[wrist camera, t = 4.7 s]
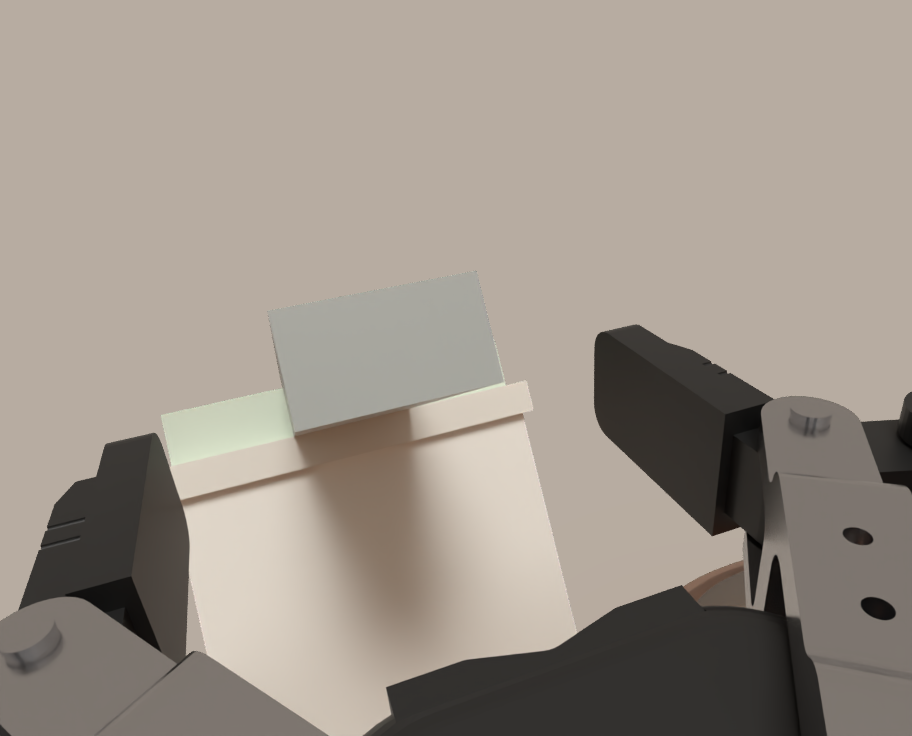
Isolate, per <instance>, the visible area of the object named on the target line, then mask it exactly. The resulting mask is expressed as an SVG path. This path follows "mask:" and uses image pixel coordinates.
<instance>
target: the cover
mask: <svg viewBox="0 0 912 736" xmlns="http://www.w3.org/2000/svg"><path fill="white" fill-rule="evenodd" d="M267 312H268V317H269V322H270V327H271V332H272V338H273V343H274V348H275V353H276V358H277V364H278V368H279V374H280V379H281V383H282V387H283V388H281V389H276V390H272V391H267V392H263V393H258V394H253V395H249V396H245V397H240V398H236V399H231V400H227V401H222V402H218V403H213V404H209V405H205V406H200V407H195V408H191V409H186V410H182V411H177V412H173V413H168V414H164V415H161V419H162V424H163V429H164V433H165V438H166V442H167V447H168V451H169V456H170V460H171V465H172V466H174V465H179V464H183V463H187V462H191V461H195V460H199V459H203V458H208V457H212V456H216V455H220V454H224V453H228V452H232V451H236V450H241V449H245V448H249V447H253V446H257V445H261V444H265V443H270V442H274V441H278V440H282V439H286V438H290V437H294V436H299V435H303V434H307V433H311V432H315V431H319V430H323V429H327V428H332V427H336V426H340V425H344V424H348V423H352V422H356V421H361V420H365V419H369V418H373V417H377V416H381V415H385V414H389V413H394V412H398V411H402V410H406V409H410V408H414V407H418V406H423V405H427V404H431V403H435V402H439V401H443V400H447V399H451V398H456V397H460V396H464V395H468V394H472V393H476V392H480V391H485V390H489V389H493V388H497V387H501V386H505V385H506V384H505V380H504V376H503V372H502V368H501V364H500V360H499V356H498V352H497V348H496V344H495V341H494V340H493V336H492V332H491V328H490V324H489V319H488V315H487V311H486V307H485V303H484V299H483V295H482V291H481V287H480V283H479V279H478V275H477V271H473V272H468V273H462V274H457V275H452V276H447V277H442V278H437V279H431V280H426V281H421V282H416V283H411V284H406V285H400V286H395V287H390V288H385V289H379V290H374V291H369V292H364V293H359V294H354V295H349V296H343V297H338V298H332V299H328V300H323V301H317V302H312V303H307V304H302V305H297V306H291V307H286V308H281V309H275V310H270V311H267Z"/></svg>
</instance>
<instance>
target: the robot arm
mask: <svg viewBox="0 0 912 736" xmlns="http://www.w3.org/2000/svg"><path fill="white" fill-rule="evenodd" d="M594 357H595V358H594V360H595V361H594V370H595V371H594V408H595V413H596V417H597V420H598V423H599V426H600V428H601V429H602V431H603V432H604V434H605V435H606V436H607V437H608V438H609V439H610V440H611V441H612V442H613V443H614V444H616V445H617V446H618V447H619V448H620V449H621V450H622V451H623V452H624V453H625V454H626V455H627V456H628V457H629V458H630V459H631V460H632V461H633V462H635V463H636V464H637V465H638V466H639V467H640V468H641V469H642V470H643V471H644V472H645V473H646V474H647V475H648V476H649V477H650V478H651V479H652V480H653V481H655V482H656V483H657V484H658V485H659V486H660V487H661V488H662V489H663V490H664V491H665V492H666V493H667V494H668V495H669V496H671V498H672V499H673V500H675V501H676V502H677V503H678V504H679V505H680V506H681V507H682V508H683V509H684V510H685V511H686V512H687V513H688V514H689V515H690V516H691V517H693V518H694V519H695V520H696V521H697V522H698V523H699V524H700V525H701V526H702V527H703V528H704V529H705V530H706V531H707V532H708V533H709V534H710V535H711V536H714V535H717V534H720V533H724V532H726V531H730V530H733V529H735V528H739V527H741V528H742V529H744V530H745V535H744V542H743V562H744V578H745V595H746V608H745V607H734V606H700V605H699V604H698V603H697V602H696V600H695V599H694V598H693V597H692V596H691V595H690V594H689V593H688V592H687V590H686V589H685V588H684V587H683V586H682V585H681V586H678V587H675V588H672V589H669V590H666V591H663V592H661V593H658V594H655V595H652V596H649V597H646V598H643V599H640V600H637V601H634V602H632V603H629V604H626V605H623V606H620V607H617V608H615V609H613V610H612V611H610V612H609V613H607V614H606V615H604V616H603V617H601V618H600V619H598V620H597V621H595V622H594V623H592V624H591V625H589V626H588V627H586V628H585V629H583V630H582V631H580V632H579V633H577V634H576V635H574V636H573V637H571V638H570V639H568V640H566V641H565V642H563V643H562V644H560V645H559V646H557V647H555V648H553V649H550V650H545V651H538V652H529V653H520V654H512V655H503V656H494V657H485V658H476V659H468V660H463V661H460V662H457V663H455V664H452V665H449V666H446V667H443V668H440V669H437V670H434V671H431V672H428V673H426V674H423V675H420V676H417V677H414V678H411V679H408V680H405V681H402V682H399V683H397V684H394V685H391V686H388V687H386V691H387V696H388V701H389V706H390V711H391V715H390V716H388V717H387V718H385V719H384V720H382V721H381V722H379V723H378V724H376V725H375V726H374V727H373V728H371V729H370V730H369V731H368V732H367V733H365V734H364V735H363V736H912V392H910V393H909V394H907V395H906V397H905V399H904V403H903V407H902V411H901V415H900V419H899V420H884V421H868V422H860V420H859V418H858V417H857V416H856V415H855V414H854V413H853V412H851V411H850V410H849V409H847V408H845V407H843V406H841V405H839V404H836V403H834V402H831V401H827V400H823V399H819V398H813V397H805V396H789V397H781V398H777V399H773V398H771V397H769V396H767V395H766V394H764V393H763V392H761V391H759V390H758V389H756V388H754V387H753V386H751V385H749V384H748V383H746V382H744V381H743V380H741V379H739V378H738V377H736V376H734V375H733V374H731V373H729V374H727V371H726V370H725V369H723V368H721V367H719V366H718V365H716V364H712V363H711V361H710V360H708V359H706V358H705V357H703V356H701V355H700V354H698V353H696V352H695V351H693V350H690V349H687V348H684V347H680V346H677V345H673V344H670V343H667V342H666V341H664V340H663V339H661V338H659V337H658V336H656V335H654V334H653V333H651V332H650V331H648V330H646V329H644V328H643V327H641V326H640V325H631V326H627V327H622V328H618V329H613V330H609V331H605V332H601V333H600V334H598V336H597V337H596V341H595V353H594ZM47 528H48V531H45V534H44V537H43V540H42V543H41V550H39V552H38V554H37V557H36V560H35V563H34V566H33V569H32V572H31V575H30V578H29V581H28V583H27V586H26V589H25V592H24V595H23V598H22V601H21V604H20V607H19V610H18V611H17V612H14V613H13V614H11V615H10V616H8V617H6V618H5V619H3V620H1V621H0V736H329V735H327V734H326V733H324V732H323V731H321V730H320V729H318V728H317V727H315V726H314V725H312V724H311V723H309V722H308V721H306V720H305V719H303V718H302V717H300V716H299V715H297V714H296V713H294V712H293V711H291V710H290V709H288V708H287V707H285V706H284V705H282V704H281V703H279V702H278V701H276V700H275V699H273V698H272V697H270V696H269V695H267V694H266V693H264V692H262V691H261V690H259V689H258V688H256V687H255V686H253V685H252V684H250V683H249V682H247V681H246V680H244V679H243V678H241V677H240V676H238V675H237V674H235V673H234V672H232V671H231V670H229V669H228V668H226V667H225V666H223V665H222V664H220V663H219V662H217V661H216V660H214V659H213V658H211V657H209V656H208V655H206V654H204V653H201V652H198V651H193V652H191V653H189V654H188V655H187V656H186V632H187V605H188V579H189V553H190V541H189V532H188V526H187V521H186V517H185V513H184V510H183V506H182V503H181V500H180V497H179V494H178V491H177V488H176V486H175V483H174V480H173V477H172V474H171V471H170V468H169V465H168V462H167V459H166V456H165V453H164V450H163V447H162V444H161V442H160V439H159V437H158V436H157V434H156V433H151V434H147V435H143V436H138V437H134V438H129V439H125V440H120V441H116V442H111V443H107V444H106V445H105V447H104V450H103V454H102V458H101V461H100V465H99V469H98V472H97V476H96V477H94V478H90V479H85V480H81V481H77V482H75V483H74V484H73V485H72V486H71V487H70V489H69V490H68V491H67V492H66V493H65V494H64V495H63V496H62V497H61V498H60V499H59V500H58V502H56V504H55V505H54V508H53V511H52V514H51V517H50V520H49V523H48V525H47Z"/></svg>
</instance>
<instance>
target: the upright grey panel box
mask: <svg viewBox="0 0 912 736" xmlns="http://www.w3.org/2000/svg"><path fill="white" fill-rule="evenodd" d="M532 410H534V409H533V404H532V400H531V397H530V392H529V388H528V384H527V381H522V382H518V383H514V384H509V385H505V386H501V387H497V388H493V389H489V390H485V391H480V392H476V393H472V394H468V395H464V396H460V397H456V398H451V399H447V400H443V401H439V402H435V403H431V404H427V405H423V406H418V407H414V408H410V409H406V410H402V411H398V412H394V413H389V414H385V415H381V416H377V417H373V418H369V419H365V420H361V421H356V422H352V423H348V424H344V425H340V426H336V427H332V428H327V429H323V430H319V431H315V432H311V433H307V434H303V435H299V436H294V437H290V438H286V439H282V440H278V441H274V442H270V443H265V444H261V445H257V446H253V447H249V448H245V449H241V450H236V451H232V452H228V453H224V454H220V455H216V456H212V457H208V458H203V459H199V460H195V461H191V462H187V463H183V464H179V465H174V466H171V467H169V468H170V471H171V474H172V477H173V480H174V483H175V486H176V488H177V491H178V494H179V497H180V500H181V503H182V506H183V510H184V513H185V517H186V521H187V526H188V532H189V541H190V553H189V576H190V580H191V584H192V589H193V593H194V598H195V603H196V607H197V612H198V616H199V621H200V625H201V630H202V634H203V639H204V644H205V648H206V653H207V655H208V656H209V657H211V658H213V659H214V660H216V661H217V662H219V663H220V664H222V665H223V666H225V667H226V668H228V669H229V670H231V671H232V672H234V673H235V674H237V675H238V676H240V677H241V678H243V679H244V680H246V681H247V682H249V683H250V684H252V685H253V686H255V687H256V688H258V689H259V690H261V691H262V692H264V693H266V694H267V695H269V696H270V697H272V698H273V699H275V700H276V701H278V702H279V703H281V704H282V705H284V706H285V707H287V708H288V709H290V710H291V711H293V712H294V713H296V714H297V715H299V716H300V717H302V718H303V719H305V720H306V721H308V722H309V723H311V724H312V725H314V726H315V727H317V728H318V729H320V730H321V731H323V732H324V733H326V734H327V735H329V736H363V735H364V734H365V733H367V732H368V731H369V730H370V729H371V728H373V727H374V726H375V725H376V724H378V723H379V722H381V721H382V720H384V719H385V718H387V717H388V716H390V715H391V711H390V706H389V701H388V696H387V691H386V687H388V686H391V685H394V684H397V683H399V682H402V681H405V680H408V679H411V678H414V677H417V676H420V675H423V674H426V673H428V672H431V671H434V670H437V669H440V668H443V667H446V666H449V665H452V664H455V663H457V662H460V661H463V660H468V659H476V658H485V657H494V656H503V655H512V654H520V653H529V652H538V651H545V650H550V649H553V648H555V647H557V646H559V645H560V644H562V643H563V642H565V641H566V640H568V639H570V638H571V637H573V636H574V635H576V634H577V631H576V627H575V623H574V619H573V615H572V610H571V606H570V603H569V598H568V594H567V590H566V586H565V582H564V579H563V574H562V570H561V566H560V562H559V558H558V554H557V550H556V546H555V542H554V538H553V534H552V530H551V526H550V522H549V518H548V514H547V510H546V506H545V501H544V498H543V493H542V490H541V485H540V481H539V477H538V473H537V469H536V465H535V461H534V458H533V453H532V449H531V445H530V441H529V437H528V433H527V429H526V425H525V421H524V417H523V413H524V412H528V411H532Z"/></svg>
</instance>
